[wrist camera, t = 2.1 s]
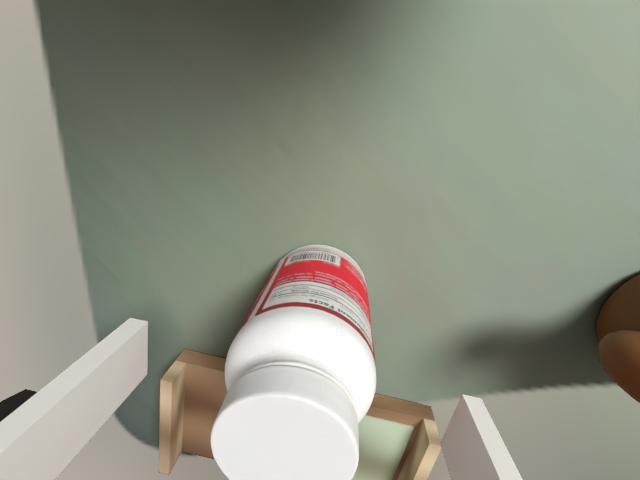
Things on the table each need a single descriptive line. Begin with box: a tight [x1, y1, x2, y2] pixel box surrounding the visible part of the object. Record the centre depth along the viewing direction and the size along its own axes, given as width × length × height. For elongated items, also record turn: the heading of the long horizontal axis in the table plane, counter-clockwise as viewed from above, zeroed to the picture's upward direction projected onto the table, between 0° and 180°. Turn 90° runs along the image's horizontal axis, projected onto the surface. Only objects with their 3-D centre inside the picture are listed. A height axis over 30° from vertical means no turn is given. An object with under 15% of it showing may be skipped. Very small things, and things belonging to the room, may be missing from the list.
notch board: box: [159, 349, 442, 480], centre depth 22 cm, size 9×18×3 cm, turn 79°
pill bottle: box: [210, 245, 376, 480], centre depth 15 cm, size 6×6×11 cm
